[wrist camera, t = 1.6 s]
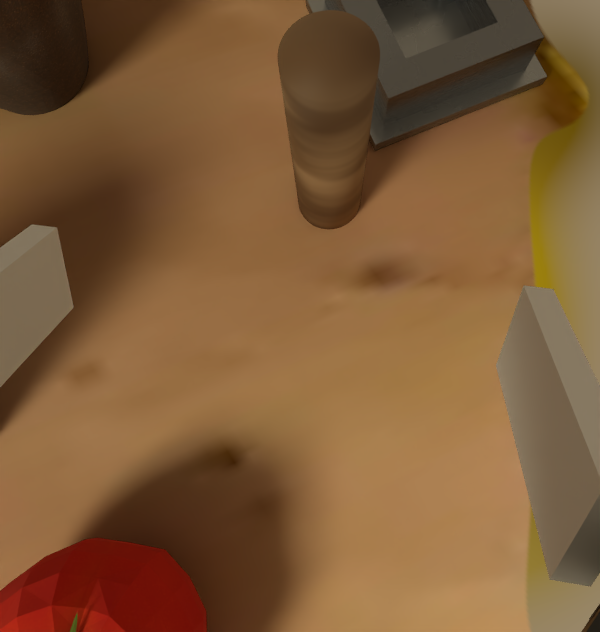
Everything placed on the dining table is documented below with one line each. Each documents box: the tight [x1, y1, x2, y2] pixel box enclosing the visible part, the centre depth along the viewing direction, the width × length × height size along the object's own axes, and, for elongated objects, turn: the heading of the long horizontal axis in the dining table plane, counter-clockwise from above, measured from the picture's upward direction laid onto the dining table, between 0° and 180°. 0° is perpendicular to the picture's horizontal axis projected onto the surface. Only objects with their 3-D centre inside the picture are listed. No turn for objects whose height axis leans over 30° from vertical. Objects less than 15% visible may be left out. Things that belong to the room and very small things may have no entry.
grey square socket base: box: [306, 0, 547, 151], centre depth 35 cm, size 12×12×4 cm
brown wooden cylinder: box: [278, 10, 380, 229], centre depth 28 cm, size 4×4×14 cm
